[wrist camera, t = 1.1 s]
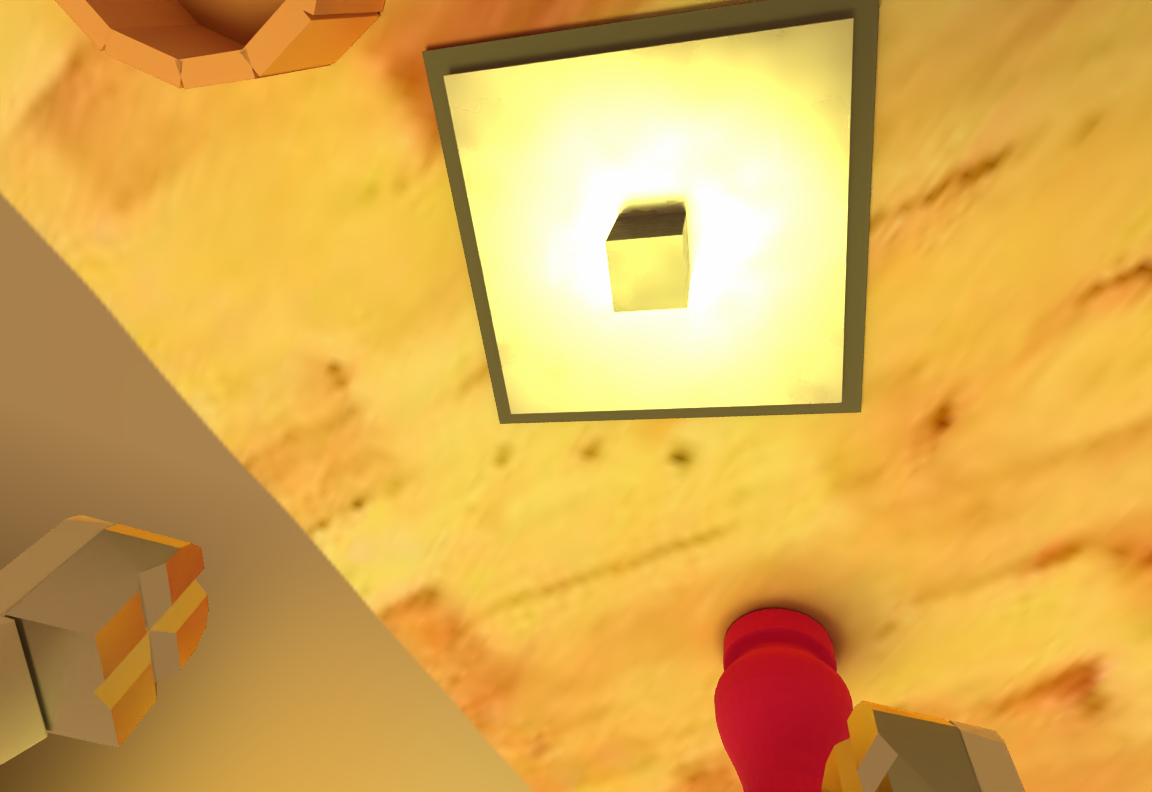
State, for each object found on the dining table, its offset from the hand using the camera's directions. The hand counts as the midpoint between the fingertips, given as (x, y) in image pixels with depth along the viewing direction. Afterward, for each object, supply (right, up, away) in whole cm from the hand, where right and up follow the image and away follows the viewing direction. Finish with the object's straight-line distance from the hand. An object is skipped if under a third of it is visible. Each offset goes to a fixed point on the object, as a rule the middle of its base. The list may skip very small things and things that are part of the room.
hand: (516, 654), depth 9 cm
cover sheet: (+4, +10, +24) cm, 26 cm away
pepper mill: (+13, -12, +35) cm, 39 cm away
